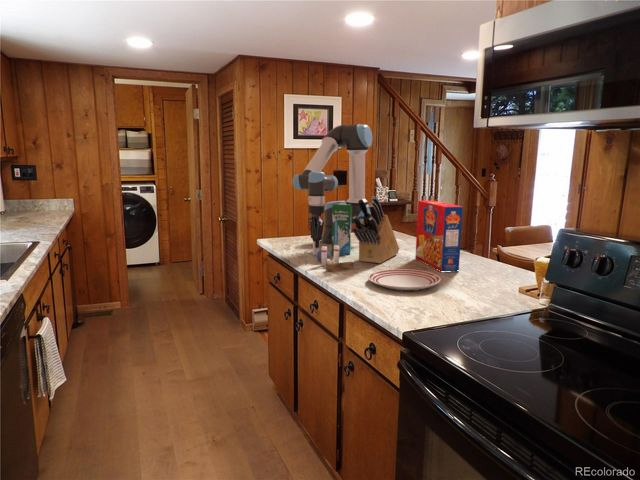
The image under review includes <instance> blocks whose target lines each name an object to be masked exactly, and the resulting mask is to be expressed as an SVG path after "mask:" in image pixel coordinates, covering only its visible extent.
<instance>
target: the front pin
mask: <svg viewBox="0 0 640 480" xmlns="http://www.w3.org/2000/svg"><path fill="white" fill-rule="evenodd" d="M331 263H337V262H335V261H334V260H332V259H330V258H329V259H327V264H331Z"/></svg>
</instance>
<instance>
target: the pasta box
mask: <svg viewBox="0 0 640 480" xmlns="http://www.w3.org/2000/svg"><path fill="white" fill-rule="evenodd" d="M463 209H464V207H463V206H461V205H456V204H452V203H447V202H443V201H439V200H438V201H437V200H418V201H417V214H416V215H417V216H416V217H417V220H416V236H415V238H416V240H415V258H416V260H417V259H418V260H417V261H419V260H420V261H419V262H421V261H422V262H421V263H423V262H424V263H426V264H428V265H429V266H428V265H427V266H428V267H430V266H432V267H434V268H435V269H438V270H440V271H457V270H459V271H460V256H461V255H460V254H461V243H462V242H461V240H462V226H463V225H462V224H463V212H464V211H463ZM424 263H423V264H424ZM426 264H425V265H426ZM432 267H431V268H432ZM434 268H433V269H434ZM435 269H434V270H435Z"/></svg>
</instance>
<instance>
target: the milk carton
mask: <svg viewBox="0 0 640 480" xmlns="http://www.w3.org/2000/svg"><path fill="white" fill-rule="evenodd" d="M351 240H352V225H351V205H346V204H342V203H340V204H339V205H338V204H333V208H332V244H331V255H334V246H339V255H348V256H349V255H351V248H352V247H351V246H352V245H351V244H352V243H351V242H352V241H351Z"/></svg>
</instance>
